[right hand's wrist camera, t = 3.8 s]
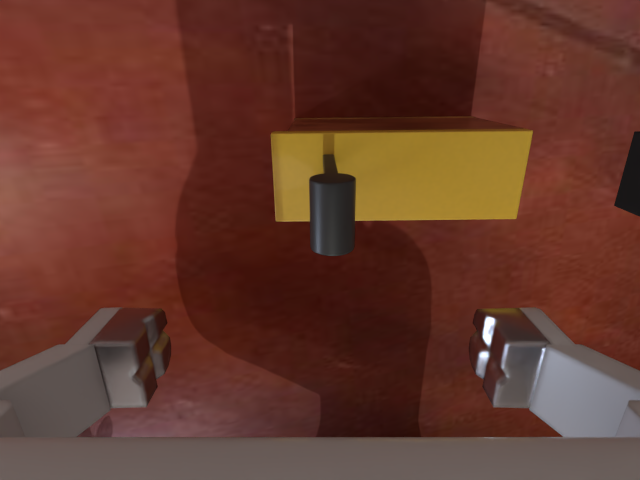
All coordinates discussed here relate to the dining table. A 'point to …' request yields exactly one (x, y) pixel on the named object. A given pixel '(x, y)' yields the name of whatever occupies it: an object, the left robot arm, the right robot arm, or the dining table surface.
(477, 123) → the chest
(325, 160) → the lid
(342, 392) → the dining table surface
